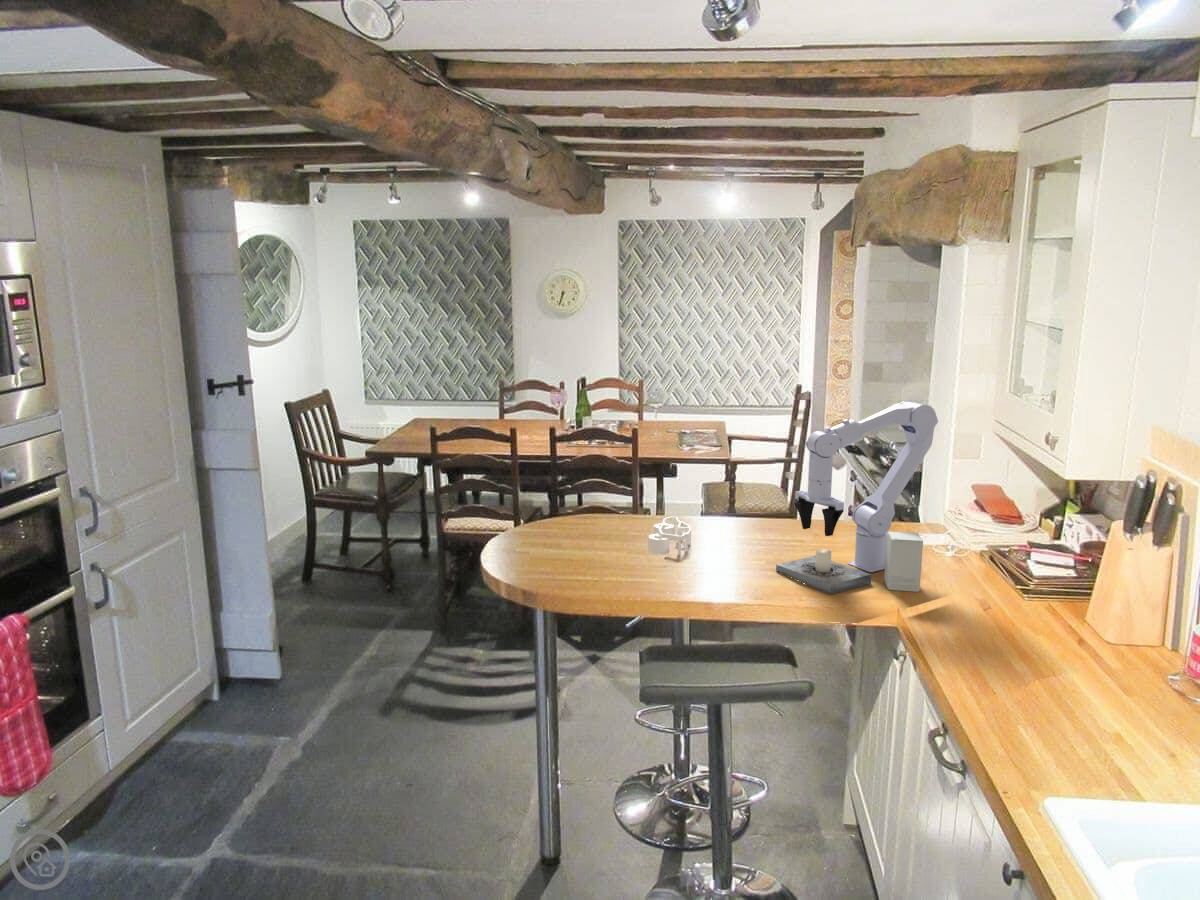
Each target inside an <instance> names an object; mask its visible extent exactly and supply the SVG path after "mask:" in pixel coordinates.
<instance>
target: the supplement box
mask: <svg viewBox="0 0 1200 900" xmlns="http://www.w3.org/2000/svg"><path fill="white" fill-rule="evenodd" d="M923 548H924V540H923V538H922V537H921V535H920V534H919V532H909V531H905V532H904V531H888V532H887V543H886V559H885V569H884V578H883V581H884V583H885V586H886V588H887V590H889V591H900V592H902V591H904V592H915V593H919V592H920V590H921V578H922V577H921V576H922V575H921V574H922V559H923Z"/></svg>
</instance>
